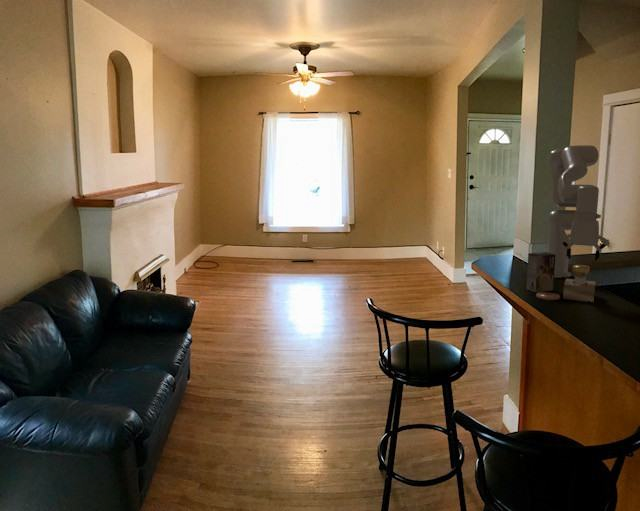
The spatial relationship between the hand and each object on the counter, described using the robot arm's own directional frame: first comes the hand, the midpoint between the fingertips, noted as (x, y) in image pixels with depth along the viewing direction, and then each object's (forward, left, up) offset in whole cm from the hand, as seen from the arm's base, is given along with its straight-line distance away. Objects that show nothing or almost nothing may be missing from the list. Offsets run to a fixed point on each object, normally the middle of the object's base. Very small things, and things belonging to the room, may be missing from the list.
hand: (582, 259), depth 206 cm
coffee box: (-6, -16, -16) cm, 23 cm away
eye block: (-1, 0, -16) cm, 16 cm away
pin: (-1, 0, -16) cm, 16 cm away
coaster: (+5, -11, -16) cm, 20 cm away
